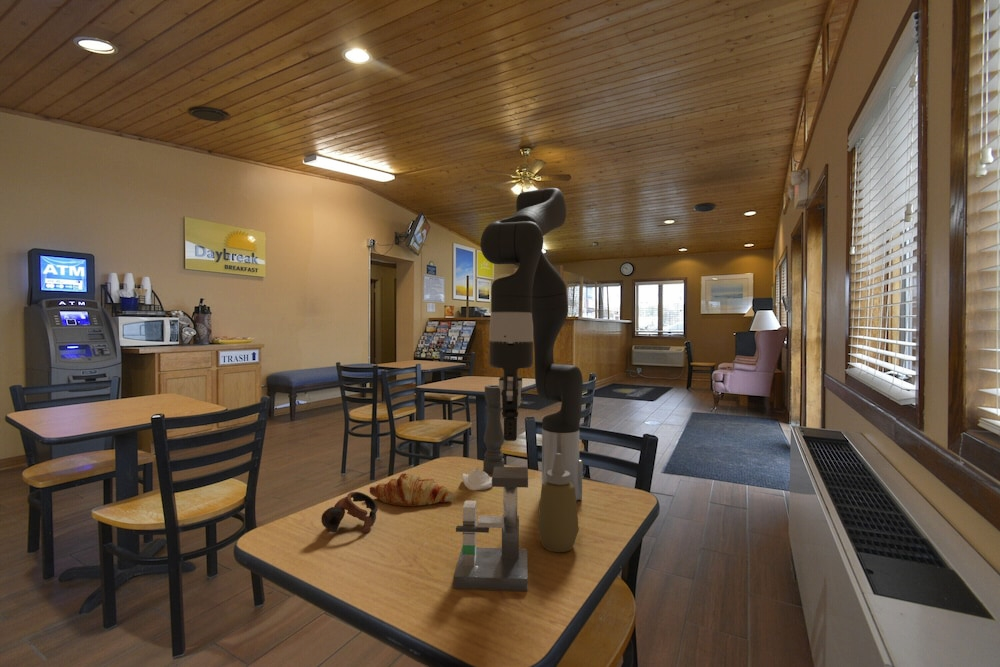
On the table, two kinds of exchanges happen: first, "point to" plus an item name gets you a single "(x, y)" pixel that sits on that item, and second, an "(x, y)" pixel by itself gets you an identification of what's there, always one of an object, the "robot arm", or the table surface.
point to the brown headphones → (350, 512)
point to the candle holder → (493, 430)
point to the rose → (477, 480)
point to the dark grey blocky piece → (506, 497)
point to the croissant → (411, 491)
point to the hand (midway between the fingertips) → (510, 439)
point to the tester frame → (490, 560)
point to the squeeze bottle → (558, 509)
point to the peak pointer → (472, 529)
